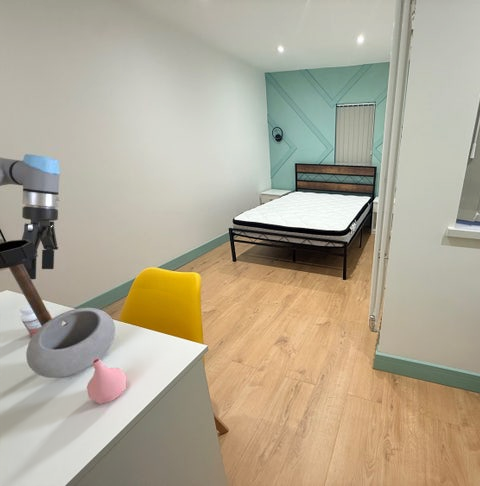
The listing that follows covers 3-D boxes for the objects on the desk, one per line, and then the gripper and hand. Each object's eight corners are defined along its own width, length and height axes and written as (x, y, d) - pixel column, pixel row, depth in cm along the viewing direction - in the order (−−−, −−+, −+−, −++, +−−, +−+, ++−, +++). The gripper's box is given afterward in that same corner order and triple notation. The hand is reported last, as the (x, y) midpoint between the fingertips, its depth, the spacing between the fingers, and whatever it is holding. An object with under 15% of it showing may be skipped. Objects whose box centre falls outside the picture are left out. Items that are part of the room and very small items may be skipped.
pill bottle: (40, 328, 90) (26, 301, 86) (61, 325, 92) (48, 299, 87) (27, 341, 85) (10, 313, 80) (49, 337, 86) (34, 310, 82)
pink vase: (84, 408, 64) (65, 373, 59) (110, 381, 71) (94, 347, 66) (115, 410, 64) (97, 375, 59) (137, 382, 71) (123, 349, 66)
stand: (42, 372, 74) (-21, 270, 61) (59, 351, 81) (7, 256, 68) (73, 366, 76) (19, 266, 62) (88, 346, 82) (42, 252, 69)
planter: (51, 398, 66) (16, 342, 59) (40, 387, 70) (5, 332, 62) (129, 348, 82) (109, 299, 74) (117, 341, 85) (96, 292, 77)
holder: (-26, 271, 60) (-35, 256, 59) (6, 255, 68) (-2, 241, 66) (21, 266, 62) (12, 251, 61) (46, 251, 70) (39, 238, 68)
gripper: (40, 209, 72) (38, 284, 74) (70, 207, 94) (68, 265, 96) (0, 206, 69) (-1, 284, 70) (41, 204, 90) (39, 265, 92)
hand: (38, 273), depth 83 cm, fingers open, 13 cm apart
